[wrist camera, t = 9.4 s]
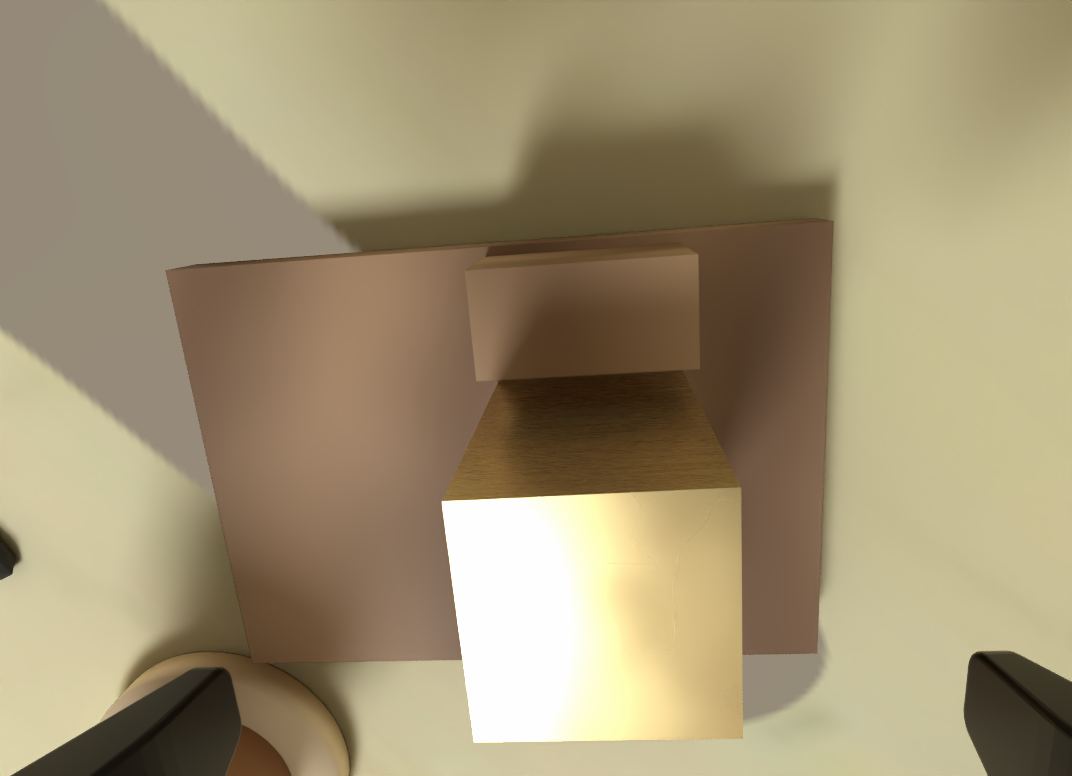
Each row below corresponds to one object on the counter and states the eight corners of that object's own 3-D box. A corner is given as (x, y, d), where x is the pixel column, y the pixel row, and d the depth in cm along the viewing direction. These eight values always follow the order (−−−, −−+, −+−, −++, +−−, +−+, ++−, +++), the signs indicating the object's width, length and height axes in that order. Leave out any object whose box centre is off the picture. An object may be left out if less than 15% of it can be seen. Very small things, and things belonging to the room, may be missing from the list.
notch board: (814, 218, 15) (884, 228, 11) (802, 623, 18) (855, 732, 14) (195, 264, 16) (85, 286, 13) (272, 634, 19) (199, 737, 15)
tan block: (688, 539, 16) (742, 737, 10) (515, 546, 16) (473, 742, 11) (683, 371, 15) (741, 487, 9) (497, 382, 15) (442, 501, 10)
